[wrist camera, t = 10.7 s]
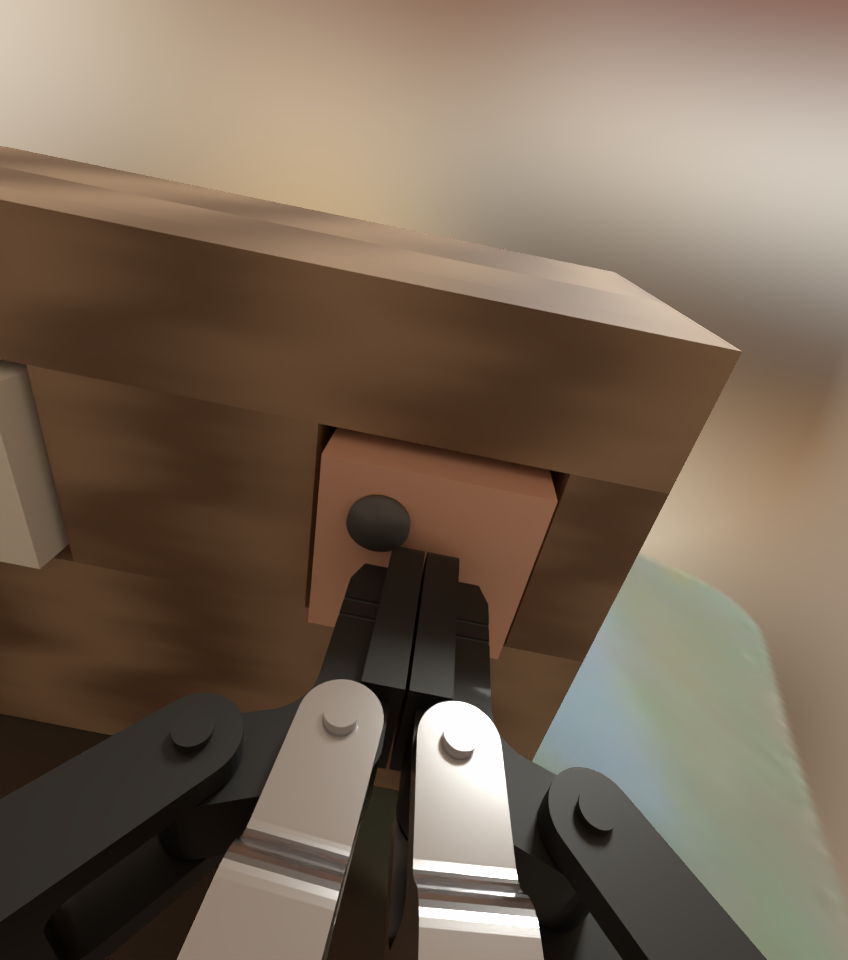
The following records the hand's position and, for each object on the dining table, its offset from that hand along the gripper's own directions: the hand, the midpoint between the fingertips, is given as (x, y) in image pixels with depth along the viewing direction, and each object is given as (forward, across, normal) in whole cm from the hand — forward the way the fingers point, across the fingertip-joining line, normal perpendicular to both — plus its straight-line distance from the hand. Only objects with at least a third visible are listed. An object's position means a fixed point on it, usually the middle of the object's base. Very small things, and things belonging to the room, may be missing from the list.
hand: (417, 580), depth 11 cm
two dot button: (+3, 0, +2) cm, 4 cm away
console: (+6, +6, +11) cm, 14 cm away
